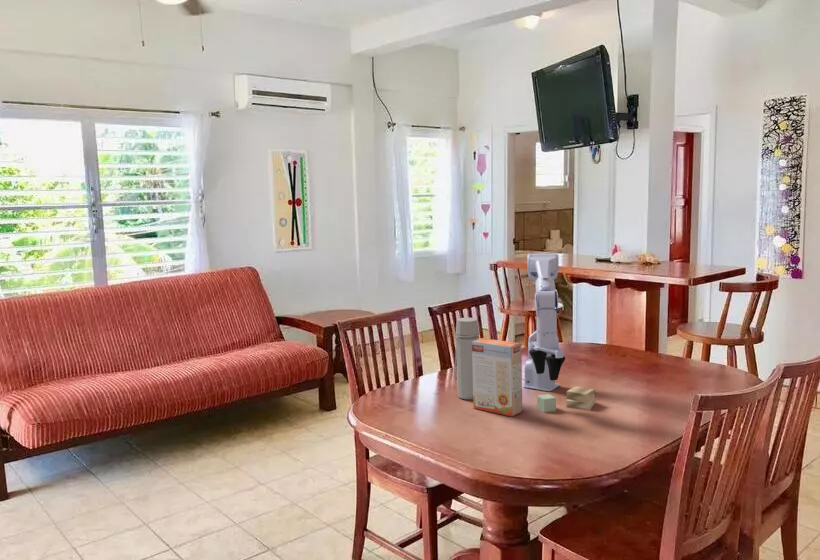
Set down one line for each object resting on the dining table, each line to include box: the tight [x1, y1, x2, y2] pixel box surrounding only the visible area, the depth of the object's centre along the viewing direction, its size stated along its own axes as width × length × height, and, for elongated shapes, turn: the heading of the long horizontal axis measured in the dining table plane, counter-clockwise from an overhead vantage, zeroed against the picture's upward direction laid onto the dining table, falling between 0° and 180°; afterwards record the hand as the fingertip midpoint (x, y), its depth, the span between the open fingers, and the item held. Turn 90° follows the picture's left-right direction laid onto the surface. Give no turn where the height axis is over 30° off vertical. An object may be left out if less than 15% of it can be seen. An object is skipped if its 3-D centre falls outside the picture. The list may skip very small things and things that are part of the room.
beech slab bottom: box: [566, 395, 596, 411], centre depth 202 cm, size 7×7×2 cm
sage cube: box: [536, 393, 557, 413], centre depth 199 cm, size 4×4×4 cm
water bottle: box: [453, 317, 480, 401], centre depth 212 cm, size 9×8×25 cm
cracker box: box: [472, 337, 523, 417], centre depth 198 cm, size 14×6×21 cm, turn 48°
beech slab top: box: [566, 385, 595, 403], centre depth 202 cm, size 6×6×2 cm
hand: (546, 376), depth 198 cm, fingers open, 7 cm apart
